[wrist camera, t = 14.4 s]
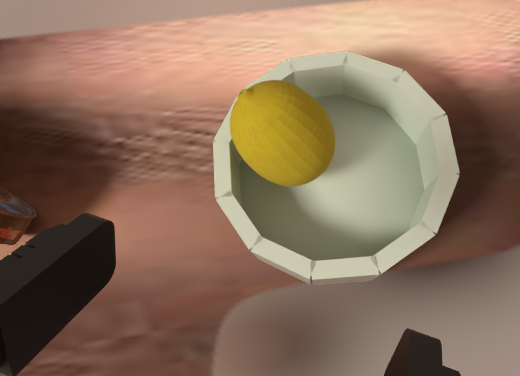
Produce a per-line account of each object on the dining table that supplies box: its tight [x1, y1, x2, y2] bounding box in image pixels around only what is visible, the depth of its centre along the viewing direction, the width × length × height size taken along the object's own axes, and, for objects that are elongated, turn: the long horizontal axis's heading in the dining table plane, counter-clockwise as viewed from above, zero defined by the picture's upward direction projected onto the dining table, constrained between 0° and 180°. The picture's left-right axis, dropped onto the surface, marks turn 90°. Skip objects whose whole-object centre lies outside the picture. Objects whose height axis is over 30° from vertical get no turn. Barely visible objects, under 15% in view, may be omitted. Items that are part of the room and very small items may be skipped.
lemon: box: [230, 80, 335, 186], centre depth 25 cm, size 6×6×8 cm
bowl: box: [213, 51, 460, 285], centre depth 27 cm, size 14×14×4 cm
